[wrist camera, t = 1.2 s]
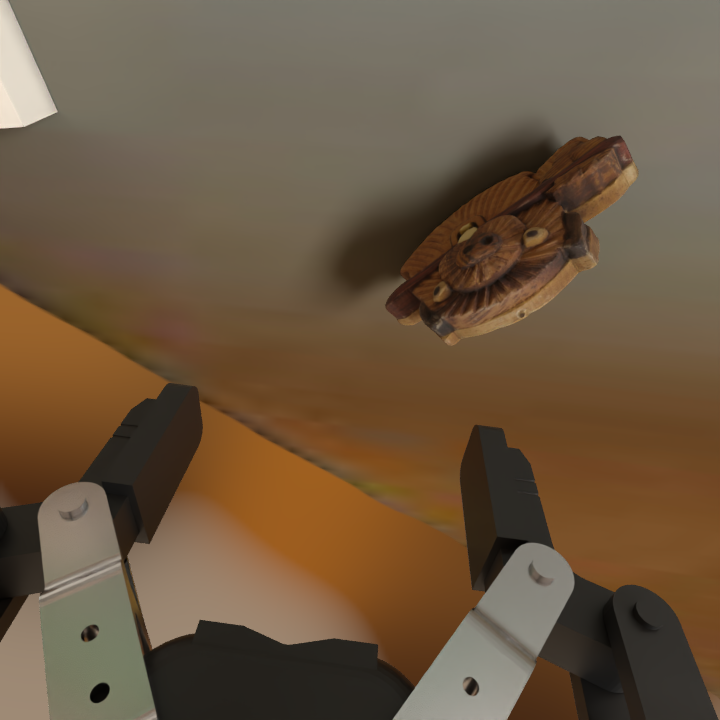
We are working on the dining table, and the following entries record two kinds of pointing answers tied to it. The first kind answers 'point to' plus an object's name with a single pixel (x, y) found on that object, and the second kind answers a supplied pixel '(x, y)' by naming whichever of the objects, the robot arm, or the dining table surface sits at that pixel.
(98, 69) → the dining table surface
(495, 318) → the wooden carving
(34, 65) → the tray
